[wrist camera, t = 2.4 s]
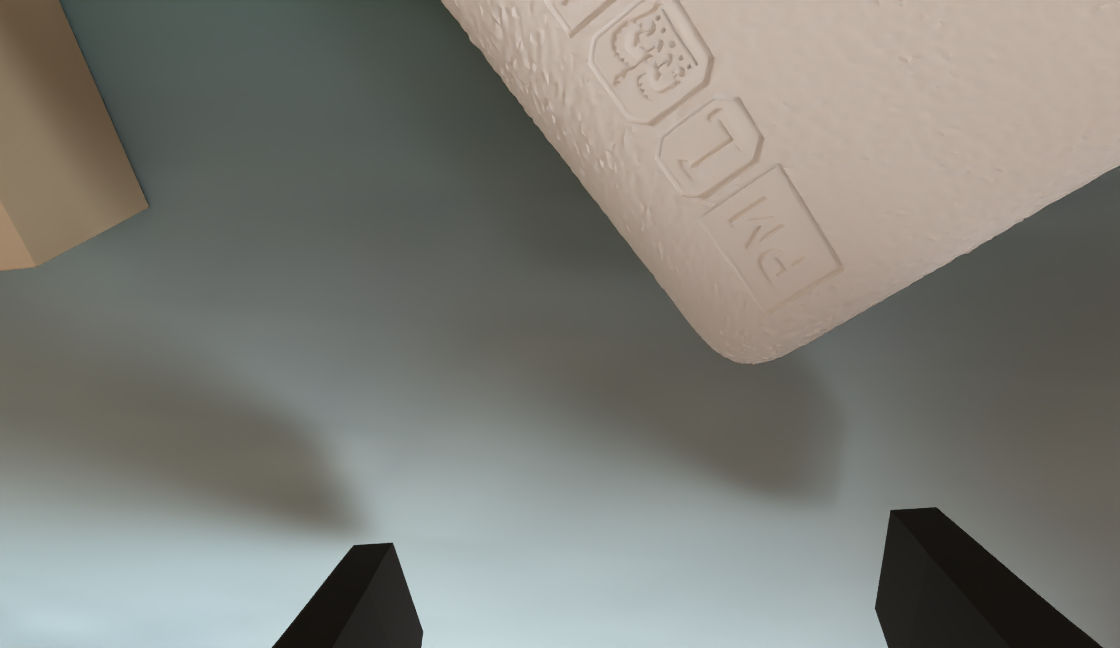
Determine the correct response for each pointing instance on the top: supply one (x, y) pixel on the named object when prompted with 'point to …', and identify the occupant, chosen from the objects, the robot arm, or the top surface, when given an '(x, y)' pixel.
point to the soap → (810, 137)
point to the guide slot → (54, 142)
